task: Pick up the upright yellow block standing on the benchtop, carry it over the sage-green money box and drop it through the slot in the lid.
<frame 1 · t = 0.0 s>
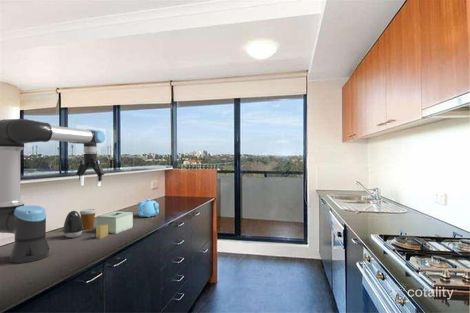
hand: (90, 186, 179), 28 cm above the worktop, tool pointing down, fingers open, 13 cm apart
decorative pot: (148, 216, 218), on the worktop
black dome on base: (73, 237, 161), on the worktop
money box: (115, 229, 177), on the worktop
yellow block: (102, 237, 160), on the worktop
disposable coffee cup: (87, 228, 180), on the worktop
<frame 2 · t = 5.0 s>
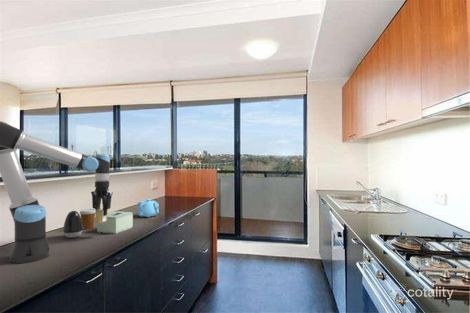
hand: (101, 220, 160), 10 cm above the worktop, tool pointing down, fingers closed on yellow block, 3 cm apart
yellow block: (101, 221, 160), point 9 cm above the worktop, touching gripper
everything else where it was.
when the fingers open (12 cm above the worktop, at t = 7.7 s): yellow block drops 9 cm and tips over, resting on money box.
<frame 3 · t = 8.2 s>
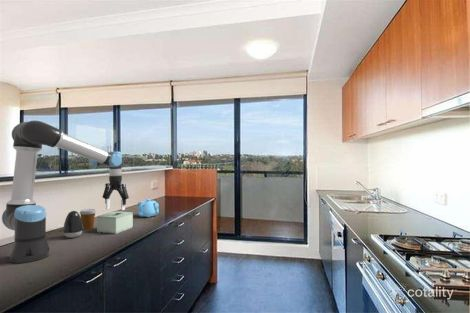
hand: (115, 209, 177), 13 cm above the worktop, tool pointing down, fingers open, 11 cm apart
yellow block: (115, 226, 177), point 2 cm above the worktop, tilted 40°, touching money box
everything else where it was.
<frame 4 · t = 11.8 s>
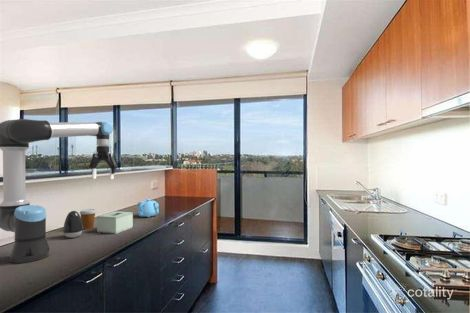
hand: (102, 178, 177), 33 cm above the worktop, tool pointing down, fingers open, 13 cm apart
nothing on the worktop moved.
at the end: yellow block inside the target area on the money box (0.5 cm from its centre), point 1.8 cm above the money box's base; the gripper is holding nothing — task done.
